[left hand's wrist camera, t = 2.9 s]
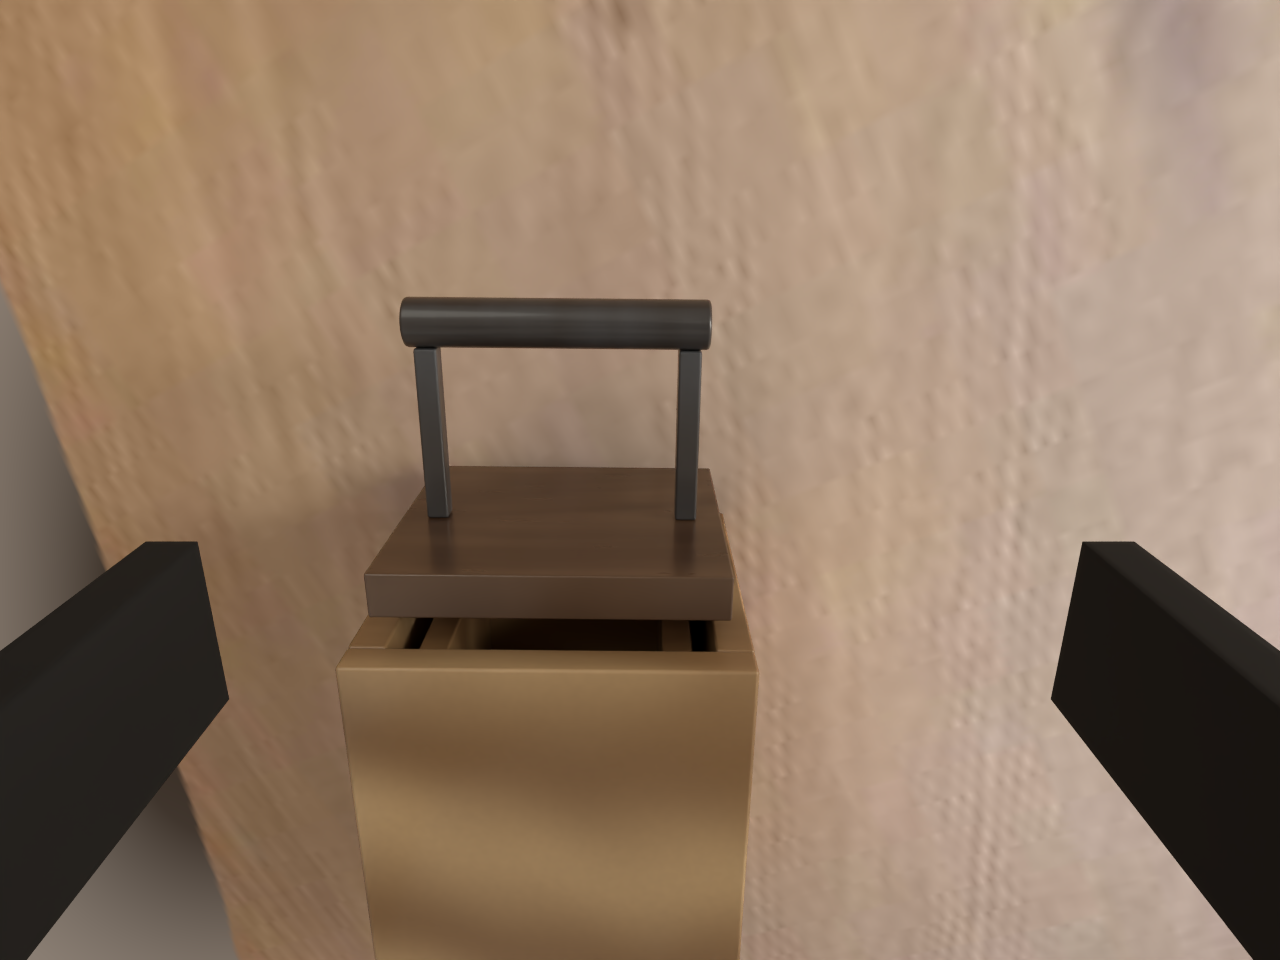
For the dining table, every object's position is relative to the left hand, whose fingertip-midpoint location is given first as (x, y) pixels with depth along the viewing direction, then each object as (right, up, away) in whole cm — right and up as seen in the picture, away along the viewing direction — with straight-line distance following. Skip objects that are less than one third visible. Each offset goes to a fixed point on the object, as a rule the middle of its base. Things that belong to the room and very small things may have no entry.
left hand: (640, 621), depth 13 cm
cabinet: (-2, -7, +19) cm, 21 cm away
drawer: (-2, -2, +16) cm, 17 cm away
